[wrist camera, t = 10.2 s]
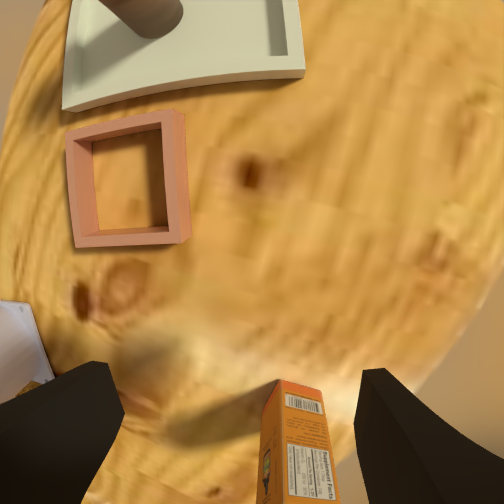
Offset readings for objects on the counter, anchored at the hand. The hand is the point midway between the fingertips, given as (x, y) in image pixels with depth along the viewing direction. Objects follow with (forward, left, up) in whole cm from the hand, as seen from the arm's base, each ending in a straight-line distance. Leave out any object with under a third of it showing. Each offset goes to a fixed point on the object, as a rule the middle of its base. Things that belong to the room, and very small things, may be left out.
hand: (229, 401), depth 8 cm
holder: (-7, +6, -10) cm, 14 cm away
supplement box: (+2, -9, -11) cm, 14 cm away
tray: (-4, +16, -10) cm, 20 cm away
